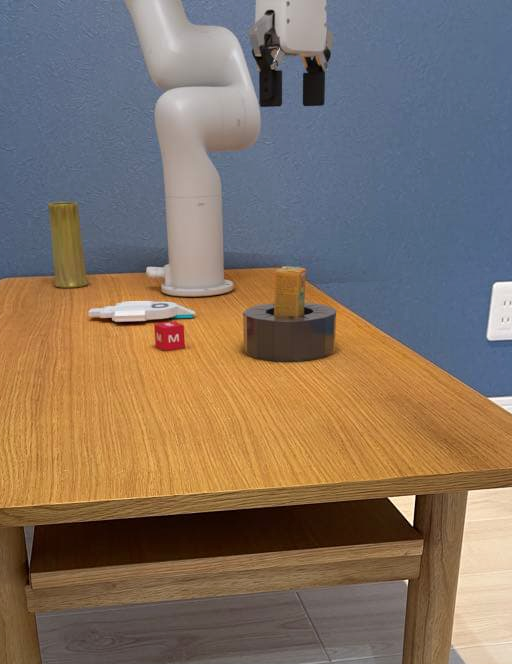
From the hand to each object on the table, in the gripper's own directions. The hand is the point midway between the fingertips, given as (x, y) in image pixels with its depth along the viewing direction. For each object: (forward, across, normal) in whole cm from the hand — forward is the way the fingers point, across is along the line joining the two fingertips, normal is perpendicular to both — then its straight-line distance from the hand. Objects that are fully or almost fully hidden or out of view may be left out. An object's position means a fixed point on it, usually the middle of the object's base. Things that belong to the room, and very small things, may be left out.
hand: (292, 106), depth 112 cm
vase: (+28, -4, -53) cm, 60 cm away
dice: (+28, +21, -5) cm, 36 cm away
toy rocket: (+28, +10, -21) cm, 37 cm away
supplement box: (+28, +13, +9) cm, 32 cm away
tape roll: (+28, +13, +9) cm, 33 cm away
